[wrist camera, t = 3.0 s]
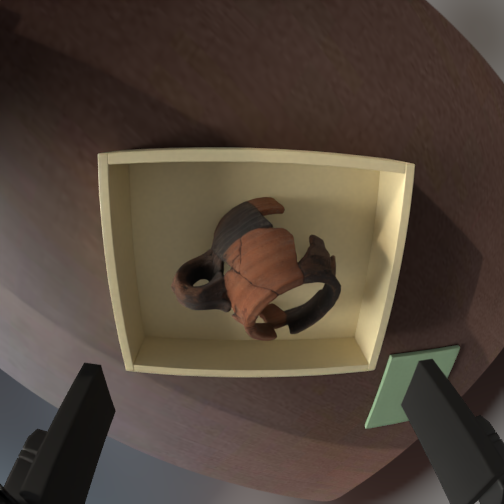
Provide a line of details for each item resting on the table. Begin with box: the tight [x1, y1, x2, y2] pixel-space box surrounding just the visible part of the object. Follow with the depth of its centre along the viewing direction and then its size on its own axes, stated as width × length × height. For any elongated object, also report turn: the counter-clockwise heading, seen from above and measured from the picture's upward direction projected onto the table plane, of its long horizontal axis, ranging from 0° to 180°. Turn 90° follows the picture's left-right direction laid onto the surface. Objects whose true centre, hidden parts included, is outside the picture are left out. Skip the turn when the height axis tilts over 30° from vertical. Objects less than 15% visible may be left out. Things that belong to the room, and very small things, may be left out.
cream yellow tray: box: [98, 147, 415, 377], centre depth 25 cm, size 22×18×5 cm
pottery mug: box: [171, 197, 341, 341], centre depth 24 cm, size 12×9×8 cm
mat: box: [365, 345, 460, 429], centre depth 33 cm, size 10×12×1 cm
